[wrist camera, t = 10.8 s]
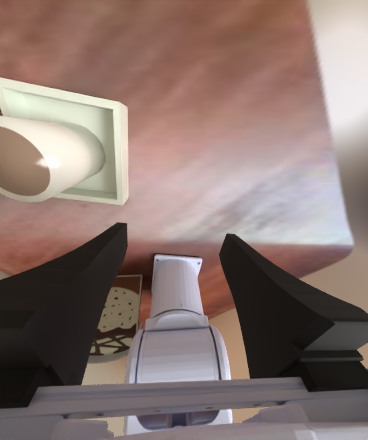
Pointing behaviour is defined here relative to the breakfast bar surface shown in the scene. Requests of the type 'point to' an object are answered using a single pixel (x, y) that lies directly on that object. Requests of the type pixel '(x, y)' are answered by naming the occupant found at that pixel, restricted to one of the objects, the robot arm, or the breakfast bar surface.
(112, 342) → the food container
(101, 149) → the cup
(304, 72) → the breakfast bar surface
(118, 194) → the tray
